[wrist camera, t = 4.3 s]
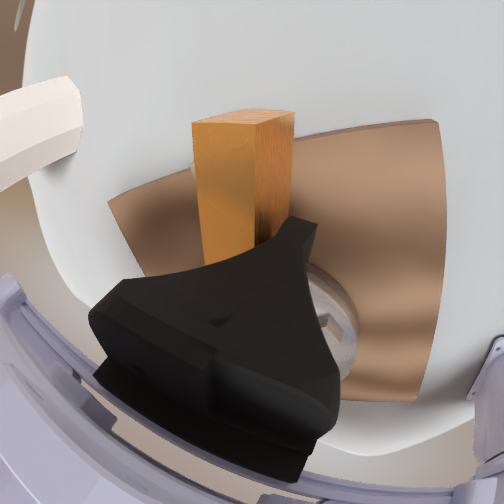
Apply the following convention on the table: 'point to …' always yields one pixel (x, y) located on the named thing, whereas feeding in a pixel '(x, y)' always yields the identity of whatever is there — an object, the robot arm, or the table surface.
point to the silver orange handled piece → (261, 207)
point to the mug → (38, 127)
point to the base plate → (339, 239)
